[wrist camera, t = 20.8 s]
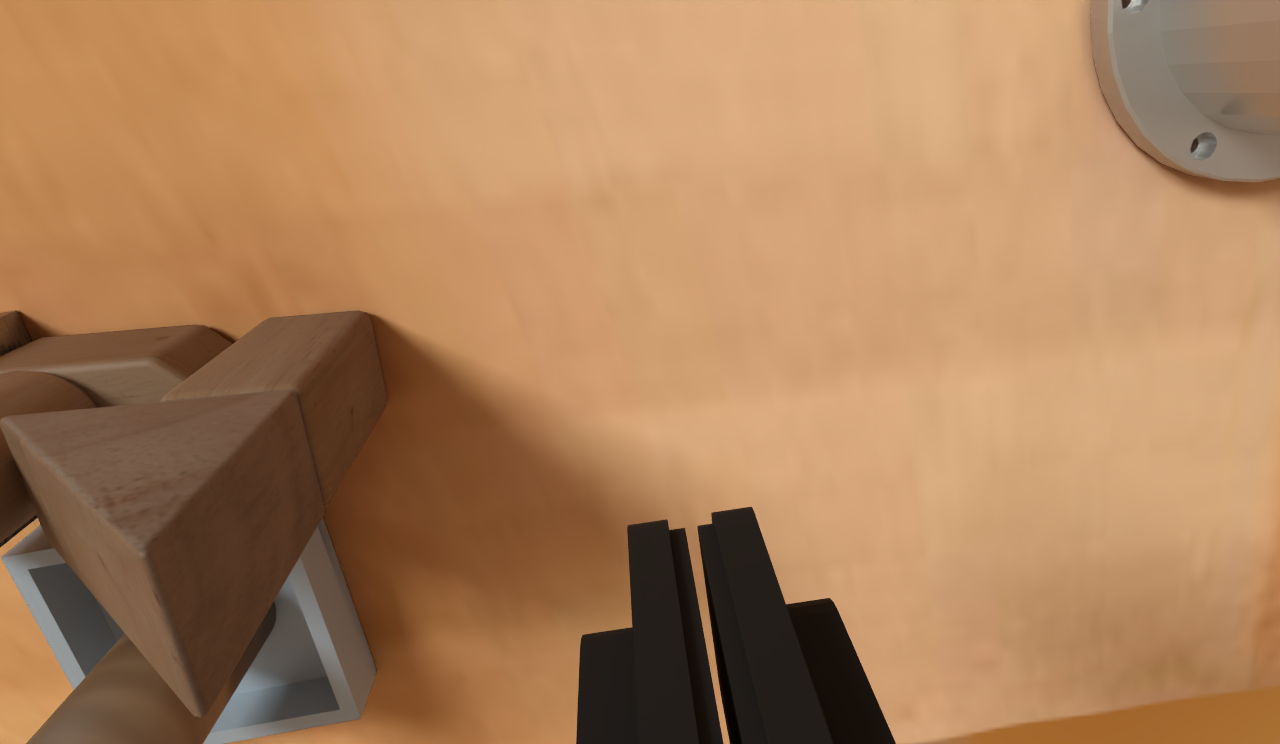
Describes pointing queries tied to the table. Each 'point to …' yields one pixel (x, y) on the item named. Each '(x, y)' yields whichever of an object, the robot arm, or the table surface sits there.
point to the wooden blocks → (186, 471)
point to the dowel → (138, 701)
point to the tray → (281, 672)
